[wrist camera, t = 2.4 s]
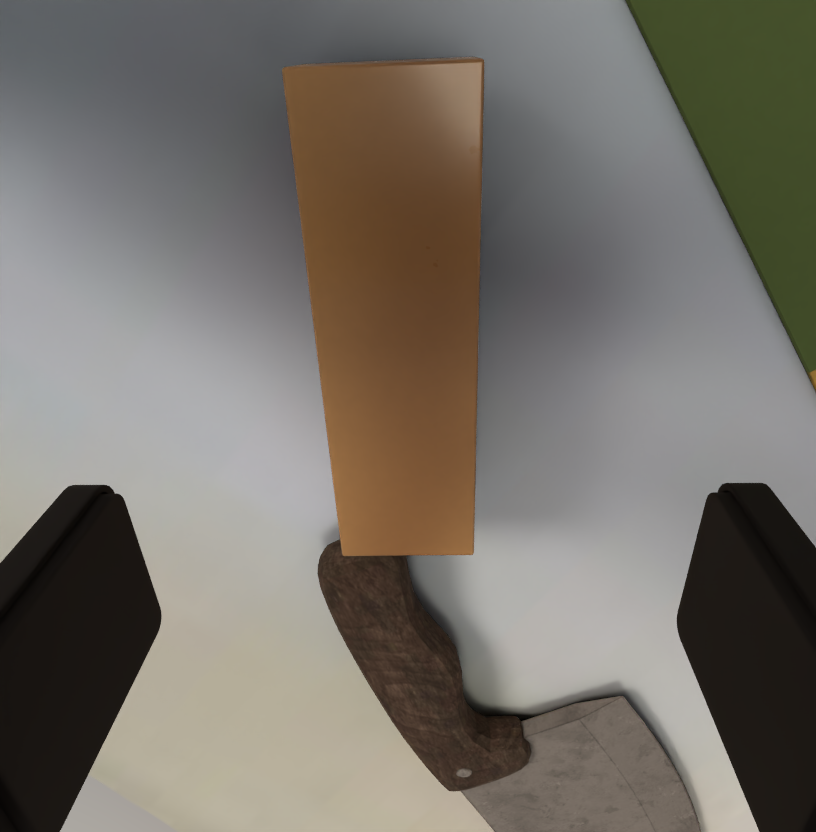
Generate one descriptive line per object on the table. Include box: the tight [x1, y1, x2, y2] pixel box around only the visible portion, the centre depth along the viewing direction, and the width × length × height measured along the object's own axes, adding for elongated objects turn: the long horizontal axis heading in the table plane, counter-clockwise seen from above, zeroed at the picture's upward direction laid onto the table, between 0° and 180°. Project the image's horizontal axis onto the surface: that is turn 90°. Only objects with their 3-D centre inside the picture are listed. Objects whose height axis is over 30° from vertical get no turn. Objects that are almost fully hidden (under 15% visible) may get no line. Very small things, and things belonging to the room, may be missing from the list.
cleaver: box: [318, 540, 701, 832], centre depth 28 cm, size 29×10×2 cm, turn 29°
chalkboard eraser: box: [282, 57, 484, 556], centre depth 17 cm, size 4×13×4 cm, turn 2°
